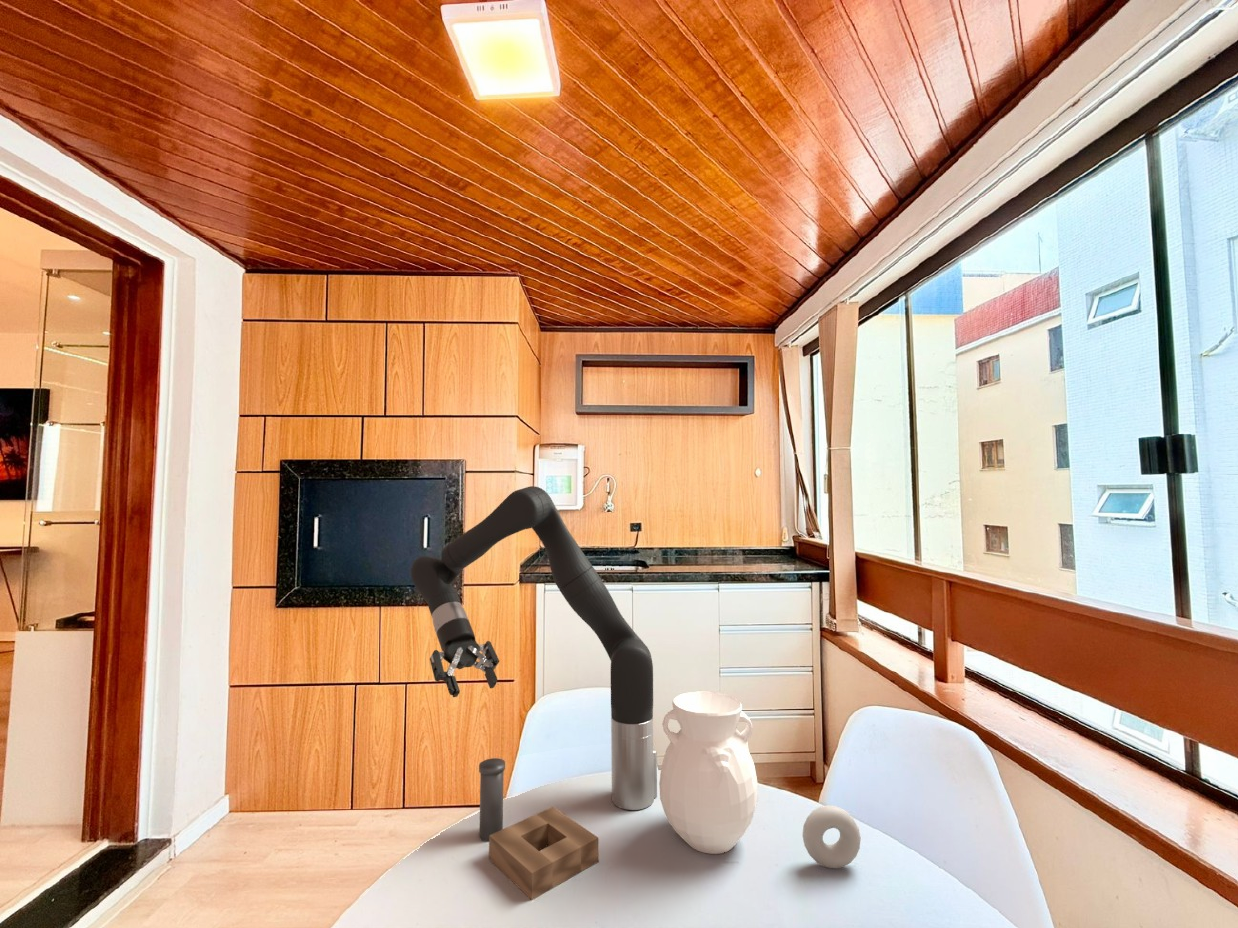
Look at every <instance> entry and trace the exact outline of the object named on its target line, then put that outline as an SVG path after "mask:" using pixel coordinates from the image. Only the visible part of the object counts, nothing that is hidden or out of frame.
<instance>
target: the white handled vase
mask: <svg viewBox="0 0 1238 928" xmlns="http://www.w3.org/2000/svg"><path fill="white" fill-rule="evenodd" d="M671 704H672V708H673V709H672V710H670V711H668V712H667V713H666V714H665V715H664V717H663V720H662V728H663V732H664V734H665V735H666V737H667V738H668V740H669V742H670V743H669V744H668V746H667V747H666V750H665V754H664V756H663V759H662V762H661V767H660V773H659V781H658V782H659V783H658V785H659V799H660V802H661V807H662V808H663V809H662V810H663V812H664V815H665V818H666V820H667V821H668V823H669V824H670V825H671V828H672V829H673V830H674V831H675V833H677V835H679V837H681V838H682V839H683V841H684V842H686V843H687V844H688V845H689V846H690V847H691V848H692V849H694V850H696V851H698V852H701V853H705V854H709V855H710V854H711V855H717V854H718V855H719V854H725V853H728V852H729V851H731V850H732V849H733V848H734V847H735V845H736V844H737V843H738V842H739V841H740V840H741V838H742V837H743V836H744V835H745V833H746V831H747V830H748V828H749V826H750V825H751V823H752V821H753V818H754V814H755V811H756V807H757V803H758V790H759V789H758V787H759V785H758V779H757V778H758V777H757V773H756V772H757V771H756V767H755V763H754V760H753V758H752V755H751V753H750V751H749V744H748V741H749V739H750V738H751V736H752V734H753V723H752V721H751V719H750V717H749V716H748V715H747V714H746V713H745V712H744V711H743V710H742V709H743V705H742V703H741V702H740V700H739V699H738V698H736V697H734V696H732V695H729V694H725V693H721V692H716V691H709V690H708V691H701V690H698V691H690V692H686V693H685V692H684V693H681V694H679V695H677V696H676V697H674V699H673V700H672V703H671ZM670 720H674V721H677V723H678V724H679V728H680V729H679V730H678V732H674V731H671V730H670V729H669V727H668V725H669V722H670ZM743 722H744V723H745V724H746V726H745V729H744V730H742V731H741V732H740V731H739V730H738V729H737V728H738V725H739V723H743ZM724 852H725V853H724Z"/></svg>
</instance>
